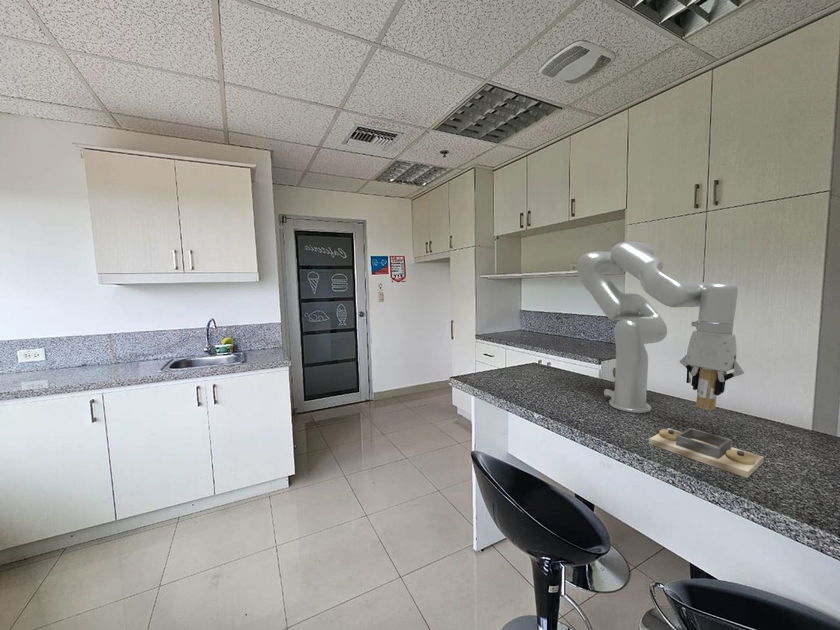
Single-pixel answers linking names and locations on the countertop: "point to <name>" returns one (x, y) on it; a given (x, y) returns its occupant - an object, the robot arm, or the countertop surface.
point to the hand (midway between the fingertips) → (706, 391)
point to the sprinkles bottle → (706, 389)
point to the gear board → (708, 450)
